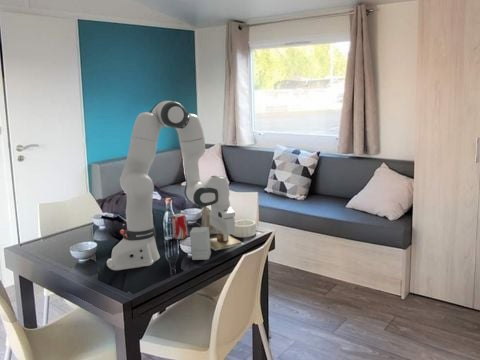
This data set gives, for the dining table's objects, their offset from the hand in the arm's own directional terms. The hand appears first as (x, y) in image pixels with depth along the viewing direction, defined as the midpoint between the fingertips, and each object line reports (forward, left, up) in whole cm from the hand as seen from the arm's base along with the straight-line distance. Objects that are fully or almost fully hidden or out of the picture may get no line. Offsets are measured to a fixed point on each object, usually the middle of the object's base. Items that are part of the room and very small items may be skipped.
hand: (222, 238), depth 220 cm
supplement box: (-15, -11, -3) cm, 19 cm away
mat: (0, 0, -2) cm, 2 cm away
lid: (0, 0, -2) cm, 2 cm away
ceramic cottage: (+7, +22, -3) cm, 23 cm away
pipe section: (+15, +6, -2) cm, 16 cm away
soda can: (-13, +20, -2) cm, 24 cm away
